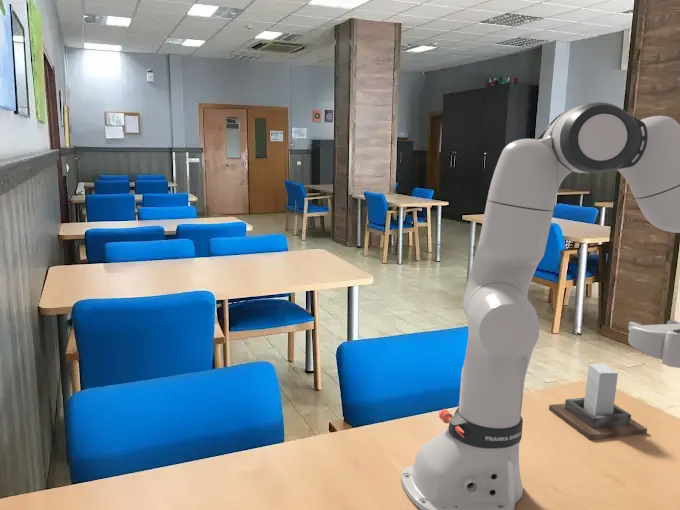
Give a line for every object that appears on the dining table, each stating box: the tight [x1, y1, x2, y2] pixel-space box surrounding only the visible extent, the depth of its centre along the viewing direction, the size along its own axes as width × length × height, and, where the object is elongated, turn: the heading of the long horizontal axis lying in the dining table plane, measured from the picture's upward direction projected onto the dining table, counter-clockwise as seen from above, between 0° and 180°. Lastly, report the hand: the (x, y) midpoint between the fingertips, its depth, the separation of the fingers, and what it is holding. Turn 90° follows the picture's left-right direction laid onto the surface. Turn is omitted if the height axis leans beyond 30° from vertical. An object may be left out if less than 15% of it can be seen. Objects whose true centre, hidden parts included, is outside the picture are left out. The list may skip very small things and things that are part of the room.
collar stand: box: [548, 397, 648, 441], centre depth 133 cm, size 15×15×4 cm
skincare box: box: [583, 363, 619, 416], centre depth 132 cm, size 6×4×12 cm
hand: (650, 324), depth 117 cm, fingers open, 8 cm apart
